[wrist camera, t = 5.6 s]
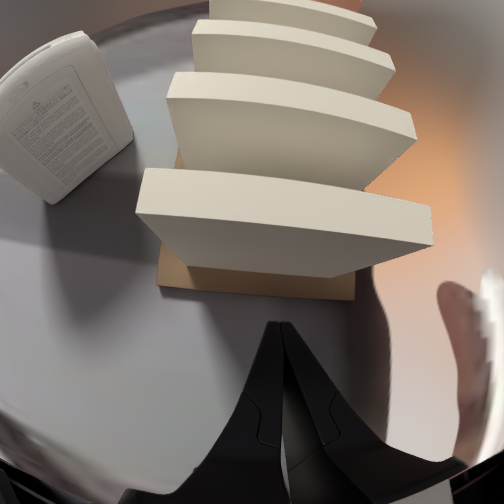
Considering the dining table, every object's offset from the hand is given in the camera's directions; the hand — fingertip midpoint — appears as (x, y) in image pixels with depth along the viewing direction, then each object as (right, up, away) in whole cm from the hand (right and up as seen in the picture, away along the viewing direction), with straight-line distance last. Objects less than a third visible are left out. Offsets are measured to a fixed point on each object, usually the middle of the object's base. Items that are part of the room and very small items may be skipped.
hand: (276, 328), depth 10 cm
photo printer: (-15, +11, +10) cm, 21 cm away
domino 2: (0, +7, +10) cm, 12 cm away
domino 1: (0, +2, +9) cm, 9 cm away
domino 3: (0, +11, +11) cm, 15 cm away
